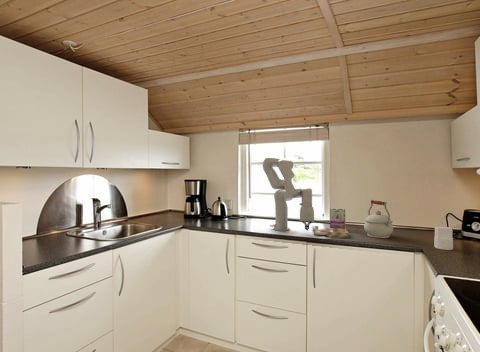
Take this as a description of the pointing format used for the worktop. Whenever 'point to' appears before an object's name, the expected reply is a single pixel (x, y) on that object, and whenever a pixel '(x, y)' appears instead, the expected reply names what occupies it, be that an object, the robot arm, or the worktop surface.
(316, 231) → the tray
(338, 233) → the caddy
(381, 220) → the kettle
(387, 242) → the worktop surface
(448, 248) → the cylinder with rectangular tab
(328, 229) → the pink dome
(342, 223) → the candy bar box
